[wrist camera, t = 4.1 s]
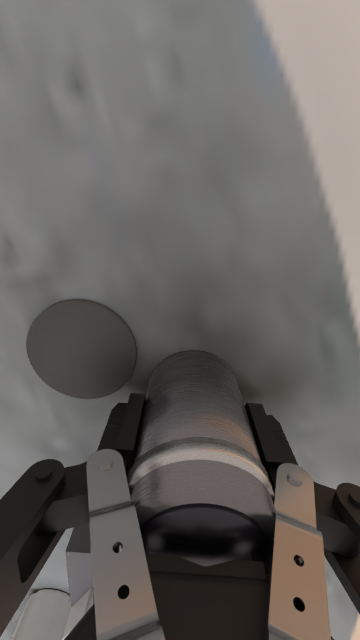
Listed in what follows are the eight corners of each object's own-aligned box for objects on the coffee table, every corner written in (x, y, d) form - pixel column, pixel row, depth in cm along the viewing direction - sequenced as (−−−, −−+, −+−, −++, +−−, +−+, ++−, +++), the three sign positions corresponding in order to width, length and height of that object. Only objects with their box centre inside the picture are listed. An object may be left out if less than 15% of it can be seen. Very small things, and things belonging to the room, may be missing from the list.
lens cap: (39, 386, 17) (32, 394, 16) (28, 292, 14) (20, 297, 14) (135, 394, 17) (133, 402, 16) (139, 302, 15) (137, 307, 14)
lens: (144, 423, 17) (111, 603, 9) (148, 345, 15) (110, 489, 7) (232, 430, 17) (271, 613, 9) (246, 353, 15) (310, 504, 7)
